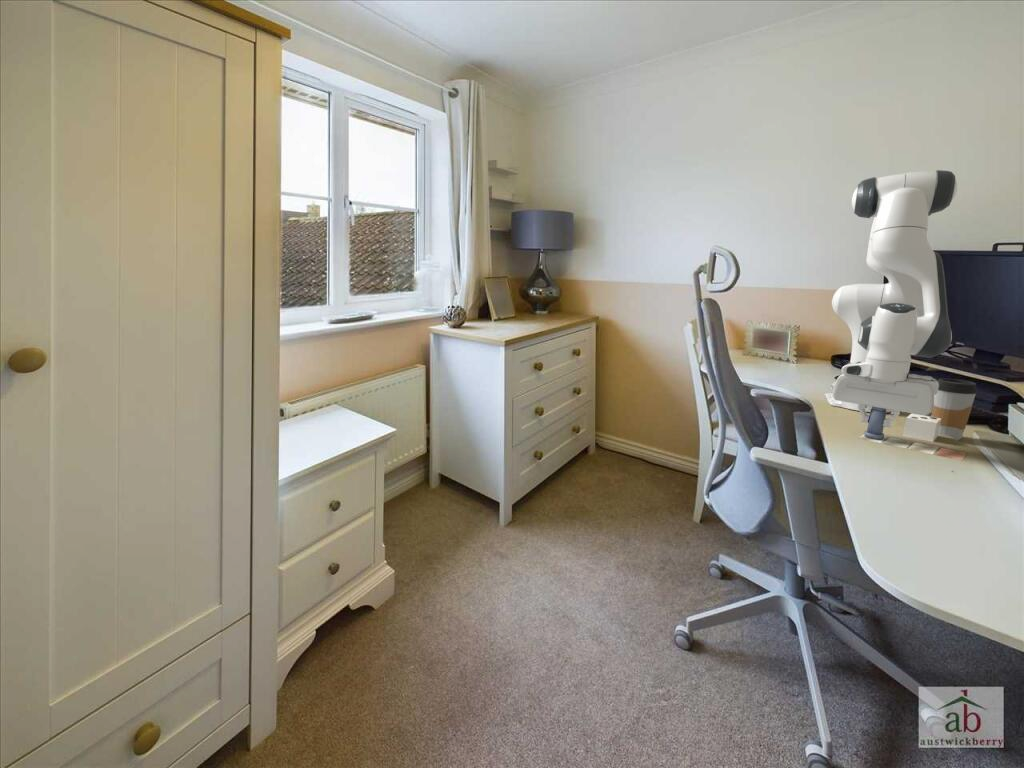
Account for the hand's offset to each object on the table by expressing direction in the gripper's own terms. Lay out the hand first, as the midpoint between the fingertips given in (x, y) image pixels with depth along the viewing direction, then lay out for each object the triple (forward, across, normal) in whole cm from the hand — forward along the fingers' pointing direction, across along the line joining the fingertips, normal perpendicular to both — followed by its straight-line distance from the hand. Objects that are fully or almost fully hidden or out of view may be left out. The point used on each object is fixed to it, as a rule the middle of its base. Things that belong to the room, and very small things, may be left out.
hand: (876, 424), depth 123 cm
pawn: (+3, 0, 0) cm, 3 cm away
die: (+5, -8, -11) cm, 14 cm away
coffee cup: (+5, -11, -20) cm, 23 cm away
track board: (+5, -8, 0) cm, 9 cm away
